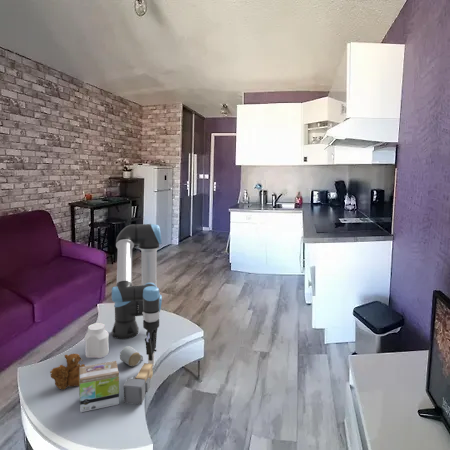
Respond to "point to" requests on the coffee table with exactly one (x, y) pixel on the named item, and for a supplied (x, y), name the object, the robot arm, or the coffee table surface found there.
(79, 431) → the coffee table surface
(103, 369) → the tea box
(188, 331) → the coffee table surface
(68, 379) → the stuffed squirrel
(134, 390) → the gray bracket pieces
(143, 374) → the tan rectangular block
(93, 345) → the jar
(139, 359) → the ceramic mug
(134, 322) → the robot arm
